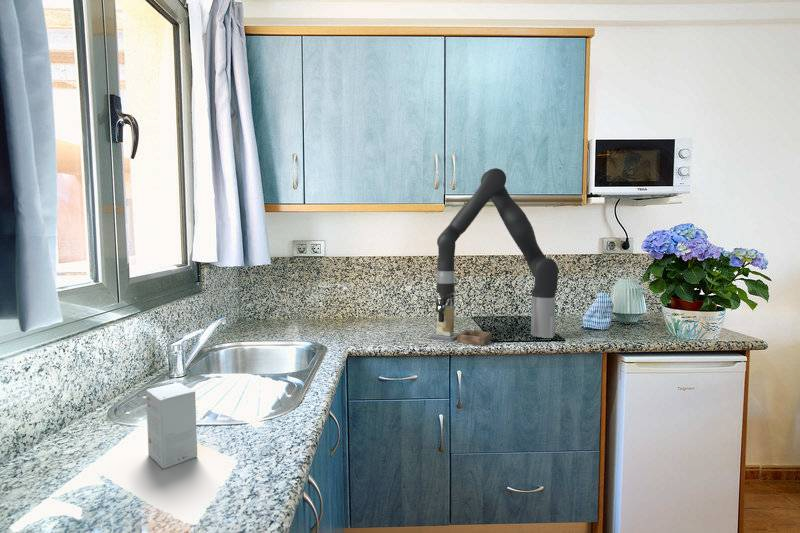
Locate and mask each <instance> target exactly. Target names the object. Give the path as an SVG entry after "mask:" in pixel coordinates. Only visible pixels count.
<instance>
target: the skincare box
mask: <svg viewBox="0 0 800 533" xmlns="http://www.w3.org/2000/svg"><path fill="white" fill-rule="evenodd" d="M438 308H439V307H438ZM455 308H456V307H455V305H454V306H447V308H446V309H445V312H444V322H439V313H438V312H436V313H437V316H436V332H437V335H444V336H452V335H453V334H454V333H455V326H454V325H455Z"/></svg>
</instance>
